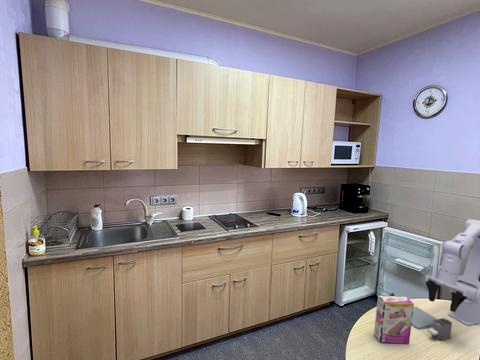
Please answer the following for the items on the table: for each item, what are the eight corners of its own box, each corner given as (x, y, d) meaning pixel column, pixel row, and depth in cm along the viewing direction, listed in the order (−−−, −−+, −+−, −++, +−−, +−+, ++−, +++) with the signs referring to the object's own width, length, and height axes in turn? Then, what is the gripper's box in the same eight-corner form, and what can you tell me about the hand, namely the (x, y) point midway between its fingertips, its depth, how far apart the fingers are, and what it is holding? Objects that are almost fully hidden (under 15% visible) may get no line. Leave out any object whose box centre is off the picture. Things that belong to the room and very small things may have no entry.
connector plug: (442, 331, 102) (444, 317, 101) (452, 337, 98) (454, 323, 98) (425, 336, 98) (426, 322, 98) (434, 342, 95) (436, 328, 95)
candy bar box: (380, 344, 94) (384, 302, 92) (373, 334, 99) (376, 294, 97) (410, 345, 94) (414, 303, 92) (401, 335, 99) (405, 295, 97)
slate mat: (416, 308, 117) (416, 306, 117) (441, 323, 107) (441, 321, 107) (393, 313, 113) (393, 311, 113) (417, 329, 102) (418, 327, 102)
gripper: (423, 263, 104) (416, 295, 104) (464, 278, 91) (456, 315, 90) (435, 266, 107) (427, 297, 106) (476, 280, 93) (468, 317, 92)
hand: (441, 306), depth 98 cm, fingers open, 7 cm apart
